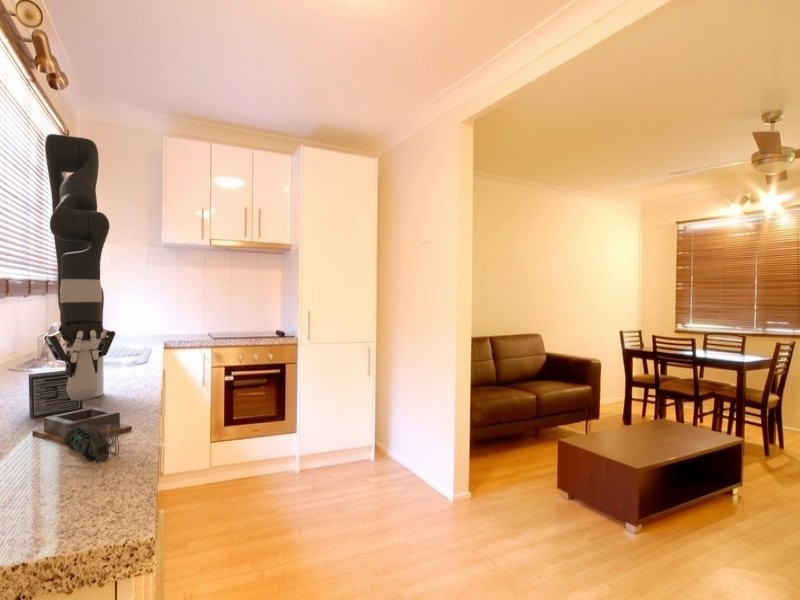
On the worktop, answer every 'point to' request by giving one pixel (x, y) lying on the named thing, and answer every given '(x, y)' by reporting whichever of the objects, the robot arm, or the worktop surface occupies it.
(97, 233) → the robot arm
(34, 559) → the worktop surface
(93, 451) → the stun grenade
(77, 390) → the salt shaker
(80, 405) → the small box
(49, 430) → the socket board
